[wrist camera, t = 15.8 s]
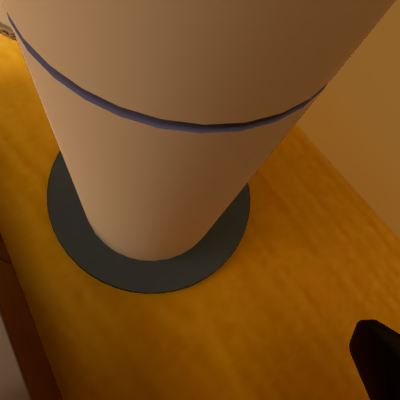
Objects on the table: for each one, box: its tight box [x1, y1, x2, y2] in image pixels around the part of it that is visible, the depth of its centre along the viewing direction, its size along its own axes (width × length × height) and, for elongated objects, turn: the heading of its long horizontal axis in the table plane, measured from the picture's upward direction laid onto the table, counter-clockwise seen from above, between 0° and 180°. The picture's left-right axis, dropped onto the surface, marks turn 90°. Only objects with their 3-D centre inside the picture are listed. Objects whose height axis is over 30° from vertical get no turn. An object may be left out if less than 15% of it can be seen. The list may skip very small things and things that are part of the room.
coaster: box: [47, 151, 250, 293], centre depth 19 cm, size 11×11×1 cm
